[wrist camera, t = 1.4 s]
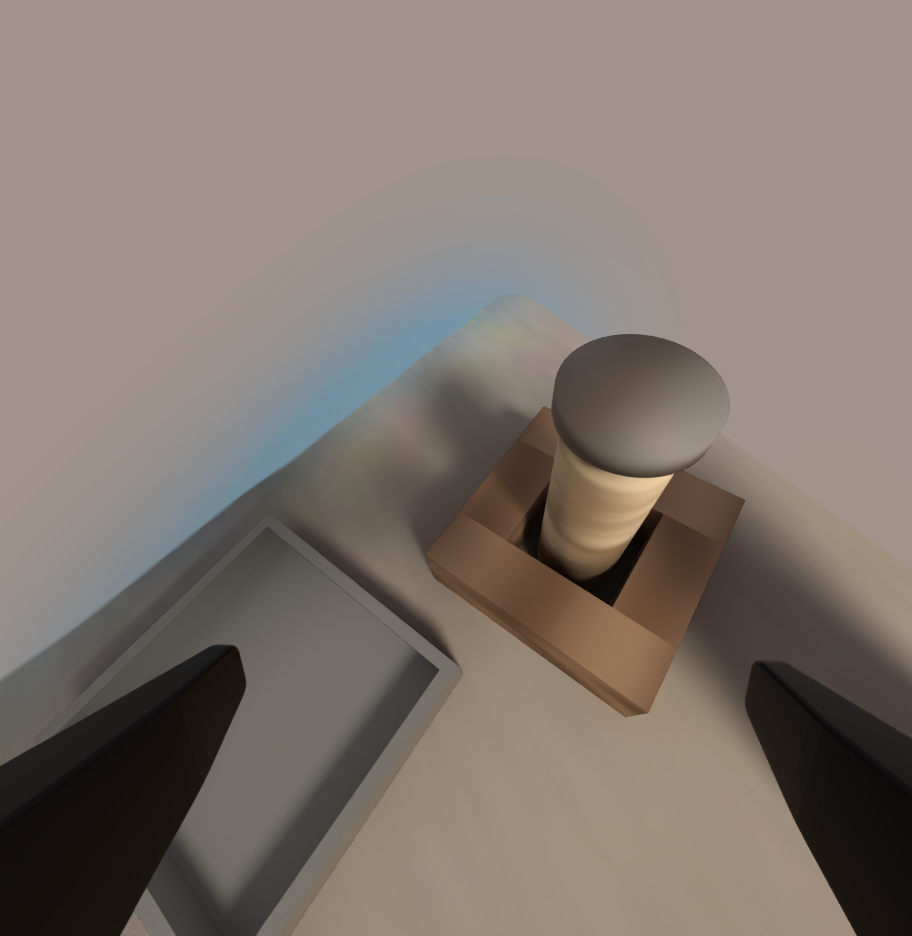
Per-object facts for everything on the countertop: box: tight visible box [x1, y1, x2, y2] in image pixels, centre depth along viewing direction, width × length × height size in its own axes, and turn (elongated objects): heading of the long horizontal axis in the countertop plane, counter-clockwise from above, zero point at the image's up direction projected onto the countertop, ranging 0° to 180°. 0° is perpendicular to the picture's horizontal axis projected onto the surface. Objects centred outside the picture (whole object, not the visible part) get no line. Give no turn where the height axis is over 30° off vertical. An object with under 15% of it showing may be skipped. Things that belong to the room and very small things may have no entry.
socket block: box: [425, 406, 745, 717], centre depth 22 cm, size 11×11×4 cm
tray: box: [35, 513, 463, 936], centre depth 19 cm, size 13×13×2 cm
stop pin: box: [538, 334, 730, 590], centre depth 18 cm, size 5×5×13 cm
